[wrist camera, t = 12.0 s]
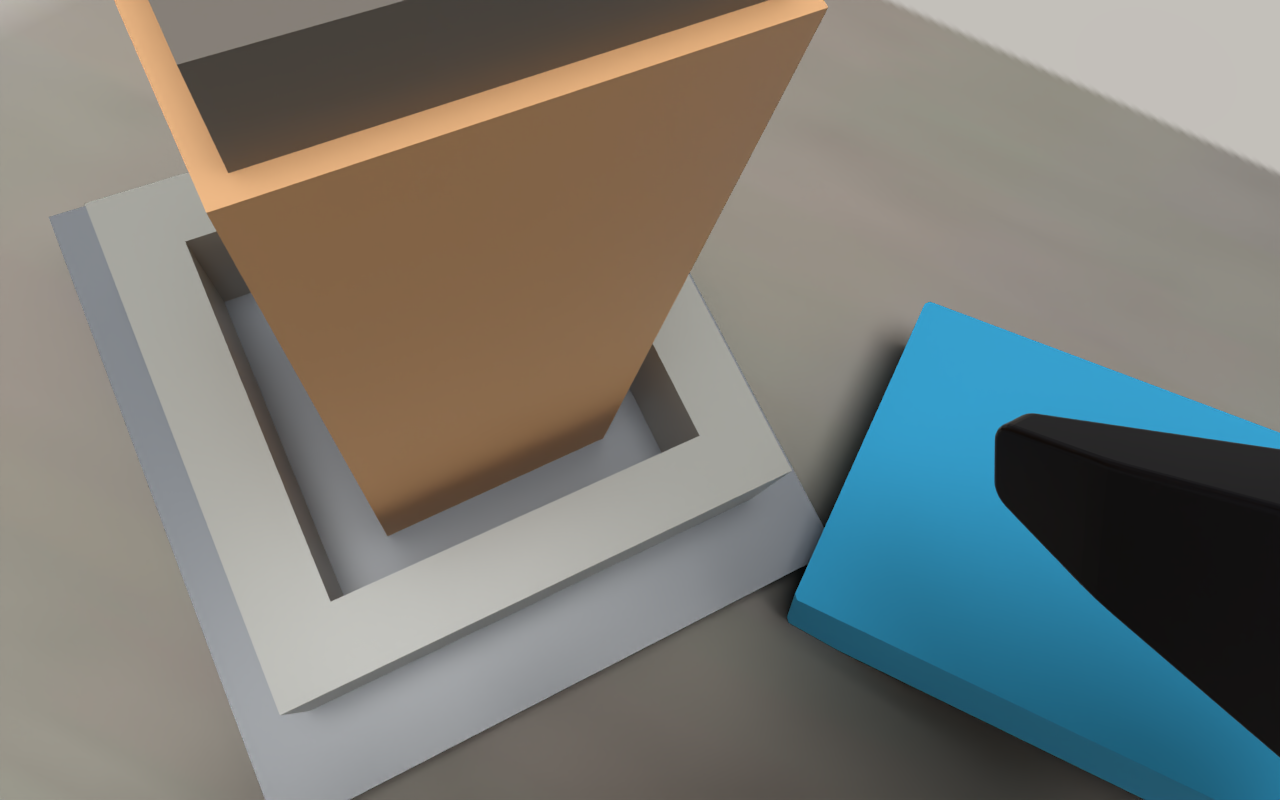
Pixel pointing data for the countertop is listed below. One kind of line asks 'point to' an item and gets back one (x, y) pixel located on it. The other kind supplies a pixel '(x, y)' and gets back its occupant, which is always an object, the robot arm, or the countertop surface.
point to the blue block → (1013, 570)
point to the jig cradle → (424, 552)
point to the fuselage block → (465, 202)
